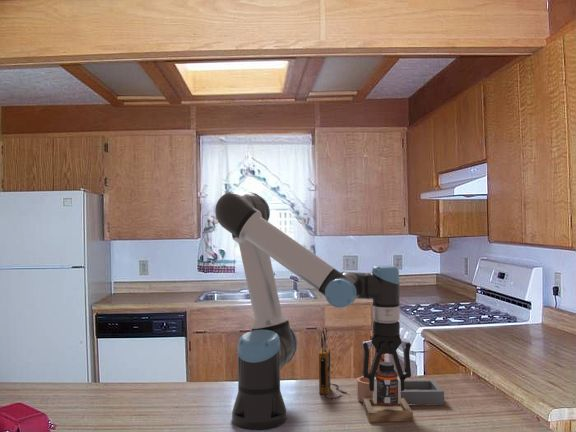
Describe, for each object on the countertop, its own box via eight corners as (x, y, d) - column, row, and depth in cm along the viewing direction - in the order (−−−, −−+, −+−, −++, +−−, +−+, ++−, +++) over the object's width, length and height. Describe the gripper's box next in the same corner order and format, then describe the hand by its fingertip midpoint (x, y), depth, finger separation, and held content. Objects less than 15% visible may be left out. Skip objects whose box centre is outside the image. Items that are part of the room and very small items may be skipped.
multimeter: (349, 400, 155) (349, 335, 155) (317, 398, 157) (316, 333, 157) (353, 385, 170) (352, 325, 170) (323, 383, 172) (323, 324, 172)
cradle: (389, 405, 151) (389, 391, 151) (383, 392, 162) (383, 379, 162) (444, 405, 151) (443, 391, 151) (434, 392, 162) (433, 379, 162)
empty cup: (358, 403, 153) (358, 383, 153) (356, 395, 160) (355, 376, 160) (382, 403, 153) (382, 383, 153) (378, 395, 160) (378, 376, 160)
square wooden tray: (368, 421, 139) (368, 412, 139) (363, 406, 150) (363, 397, 150) (412, 421, 139) (412, 412, 139) (404, 406, 150) (403, 397, 150)
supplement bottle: (392, 408, 141) (392, 367, 141) (372, 404, 144) (372, 364, 144) (400, 402, 146) (400, 362, 146) (380, 398, 149) (380, 359, 149)
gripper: (354, 323, 141) (354, 407, 141) (422, 323, 141) (423, 406, 141) (351, 318, 149) (351, 397, 149) (416, 317, 148) (417, 397, 148)
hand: (386, 401), depth 145 cm, fingers closed on supplement bottle, 6 cm apart
